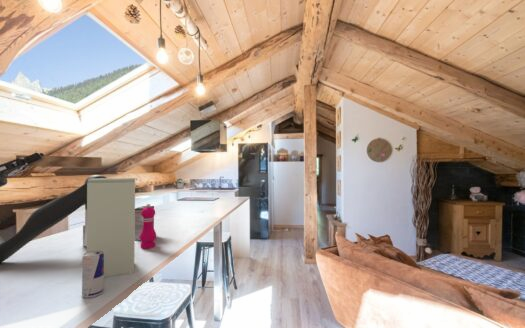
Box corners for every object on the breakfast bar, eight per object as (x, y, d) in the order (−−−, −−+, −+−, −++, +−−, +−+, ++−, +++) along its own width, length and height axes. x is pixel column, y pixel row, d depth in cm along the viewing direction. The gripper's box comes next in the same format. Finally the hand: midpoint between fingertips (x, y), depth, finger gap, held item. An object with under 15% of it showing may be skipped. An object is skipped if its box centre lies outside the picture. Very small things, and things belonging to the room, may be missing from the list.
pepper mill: (159, 244, 125) (159, 202, 125) (151, 249, 118) (151, 205, 118) (144, 244, 125) (145, 202, 126) (136, 248, 118) (136, 204, 118)
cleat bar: (15, 166, 83) (16, 155, 83) (20, 166, 86) (20, 155, 86) (100, 167, 92) (100, 157, 92) (101, 167, 95) (101, 157, 95)
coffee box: (142, 235, 141) (142, 205, 141) (154, 235, 141) (154, 205, 141) (133, 240, 132) (134, 208, 132) (146, 240, 132) (146, 208, 132)
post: (86, 279, 87) (87, 179, 87) (92, 268, 96) (92, 178, 96) (133, 272, 92) (133, 179, 92) (134, 262, 101) (135, 177, 102)
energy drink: (107, 291, 79) (108, 251, 79) (91, 299, 74) (91, 257, 74) (94, 288, 80) (95, 249, 80) (77, 296, 75) (77, 255, 75)
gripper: (0, 189, 88) (55, 164, 94) (-25, 194, 75) (41, 165, 81) (-14, 170, 87) (42, 146, 93) (-42, 171, 74) (26, 143, 80)
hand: (41, 155), depth 87 cm, fingers closed on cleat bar, 3 cm apart
